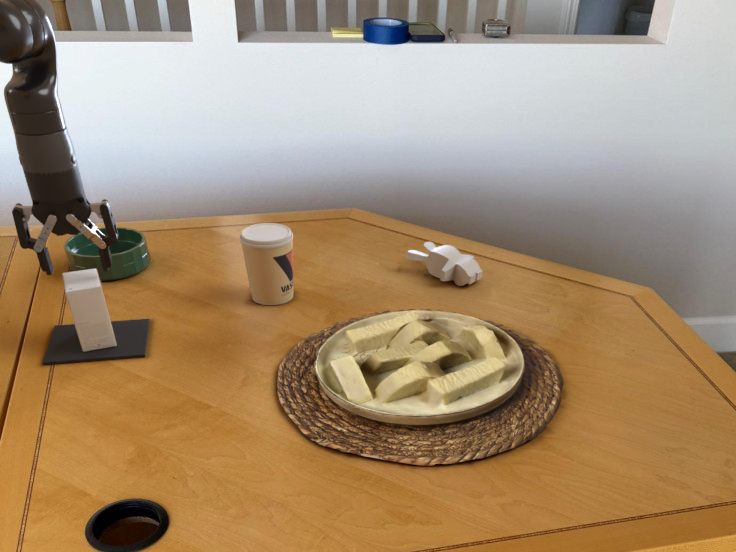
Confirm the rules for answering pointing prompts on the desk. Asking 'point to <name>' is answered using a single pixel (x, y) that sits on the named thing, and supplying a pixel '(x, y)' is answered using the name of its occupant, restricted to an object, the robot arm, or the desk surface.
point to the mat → (69, 349)
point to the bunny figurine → (448, 263)
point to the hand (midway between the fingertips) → (78, 271)
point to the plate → (419, 387)
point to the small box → (89, 309)
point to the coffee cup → (269, 262)
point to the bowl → (125, 254)
